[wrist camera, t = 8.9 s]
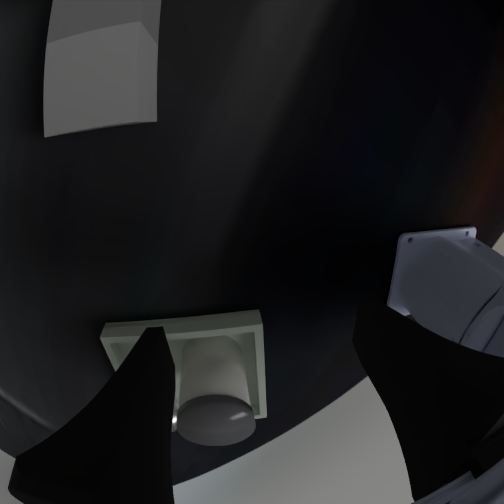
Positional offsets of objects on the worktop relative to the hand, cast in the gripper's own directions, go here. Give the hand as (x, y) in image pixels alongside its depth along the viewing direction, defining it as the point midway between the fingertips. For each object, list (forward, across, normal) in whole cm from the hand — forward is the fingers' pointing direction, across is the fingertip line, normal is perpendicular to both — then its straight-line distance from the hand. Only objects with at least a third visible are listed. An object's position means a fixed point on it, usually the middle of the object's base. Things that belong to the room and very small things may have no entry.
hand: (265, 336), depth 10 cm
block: (+10, +6, -18) cm, 21 cm away
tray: (+10, +5, +12) cm, 16 cm away
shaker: (+9, +3, +10) cm, 14 cm away
